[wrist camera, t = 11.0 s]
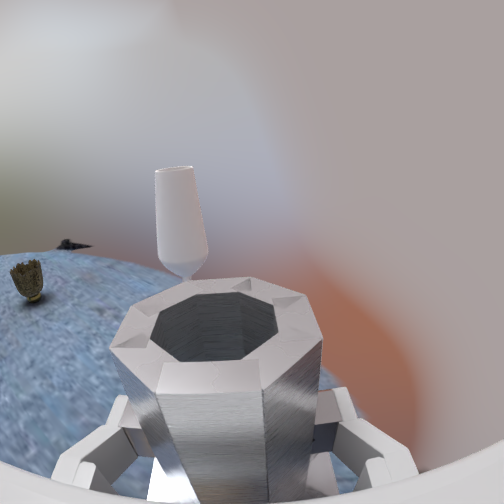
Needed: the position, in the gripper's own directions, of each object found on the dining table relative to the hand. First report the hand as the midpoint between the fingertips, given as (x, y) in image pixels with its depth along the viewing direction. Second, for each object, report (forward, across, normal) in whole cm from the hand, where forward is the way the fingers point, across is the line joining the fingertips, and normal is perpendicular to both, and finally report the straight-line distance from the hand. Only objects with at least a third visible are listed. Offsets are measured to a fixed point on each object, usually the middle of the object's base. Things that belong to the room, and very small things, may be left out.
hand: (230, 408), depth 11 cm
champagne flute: (+32, +8, +19) cm, 38 cm away
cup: (+43, +45, +19) cm, 65 cm away
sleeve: (-1, 0, +6) cm, 6 cm away
